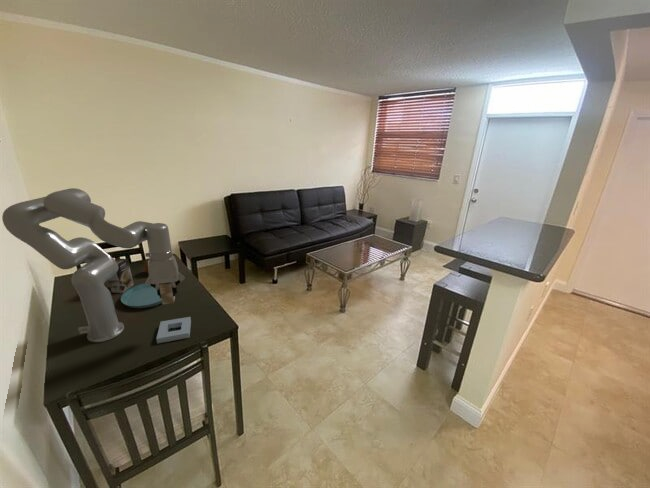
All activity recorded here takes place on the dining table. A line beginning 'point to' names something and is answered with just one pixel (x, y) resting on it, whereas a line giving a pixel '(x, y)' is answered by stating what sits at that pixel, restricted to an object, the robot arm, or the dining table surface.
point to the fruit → (146, 267)
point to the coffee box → (121, 277)
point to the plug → (166, 293)
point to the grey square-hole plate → (174, 335)
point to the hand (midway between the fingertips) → (167, 295)
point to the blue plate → (141, 297)
